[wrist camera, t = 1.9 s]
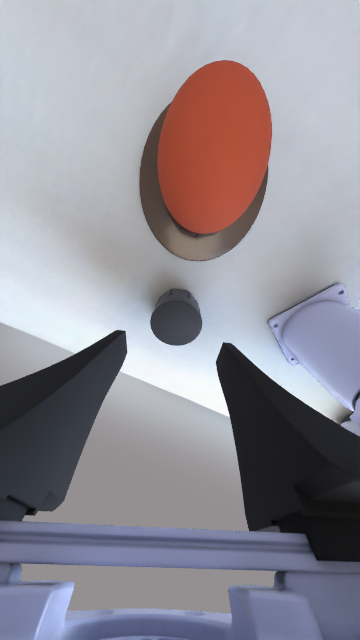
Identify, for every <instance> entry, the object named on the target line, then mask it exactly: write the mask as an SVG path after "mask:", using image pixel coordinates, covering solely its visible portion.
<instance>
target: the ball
mask: <svg viewBox="0 0 360 640" xmlns="http://www.w3.org/2000/svg"><path fill="white" fill-rule="evenodd" d="M271 139H272V123H271V113H270V109H269V104H268V101H267V98H266V95H265V92H264V90H263V88H262V86H261V84H260V82H259V80H258V79H257V78H256V76H255V75H254V74H253V73H252V72H251V71H250V70H249V69H248V68H247V67H245V66H243V65H242V64H240V63H237V62H234V61H227V60H223V61H216V62H212V63H210V64H207V65H205V66H203V67H202V68H200V69H198V70H197V71H196V72H195V73H193V74H192V75H191V76H190V77H189V78H188V79H187V80H186V82H185V83H184V84H183V85H182V87H181V88H180V89H179V91H178V92H177V94H176V96H175V97H174V99H173V101H172V103H171V105H170V107H169V109H168V112H167V114H166V117H165V120H164V123H163V127H162V130H161V134H160V140H159V146H158V159H157V163H158V179H159V184H160V189H161V193H162V196H163V199H164V202H165V204H166V206H167V208H168V210H169V212H170V213H171V215H172V216H173V217H174V219H175V220H176V221H177V222H178V223H179V224H180V225H181V226H183V227H184V228H186V229H187V230H189V231H192V232H195V233H200V234H209V233H214V232H218V231H220V230H223V229H224V228H226V227H228V226H229V225H231V224H232V223H233V222H235V221H236V220H237V219H238V218H239V217H240V216H241V215H242V214H243V213H244V212H245V211H246V209H247V208H248V206H249V205H250V204H251V202H252V201H253V199H254V197H255V196H256V194H257V192H258V190H259V188H260V185H261V183H262V180H263V178H264V175H265V172H266V169H267V165H268V161H269V155H270V149H271Z"/></svg>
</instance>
